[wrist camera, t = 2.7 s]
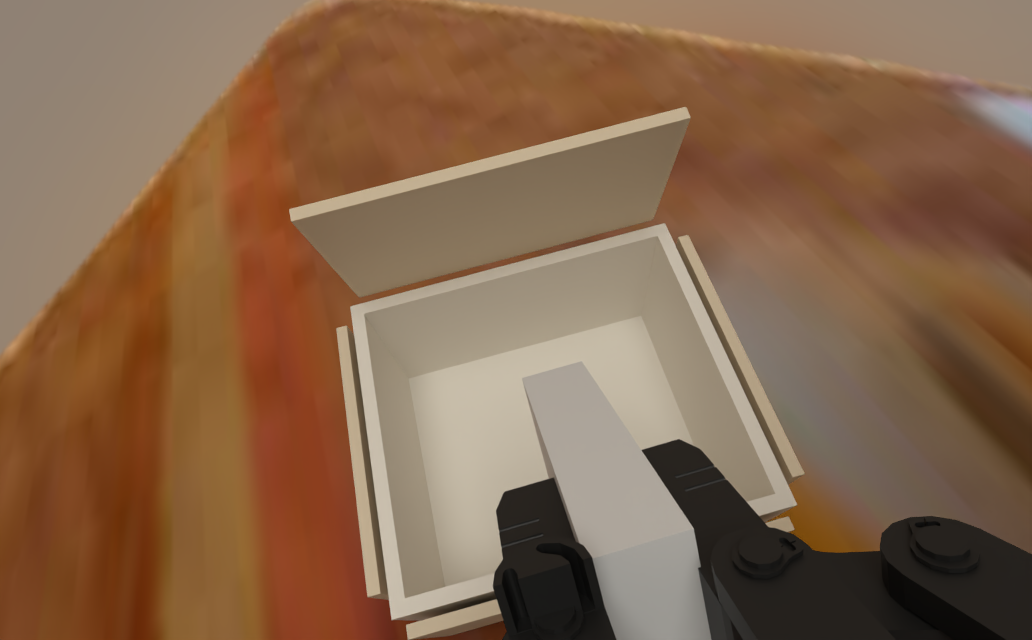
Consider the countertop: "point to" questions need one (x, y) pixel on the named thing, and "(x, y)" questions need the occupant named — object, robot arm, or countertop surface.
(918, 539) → the robot arm
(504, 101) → the countertop surface
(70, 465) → the countertop surface
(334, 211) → the flap
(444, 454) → the carton
